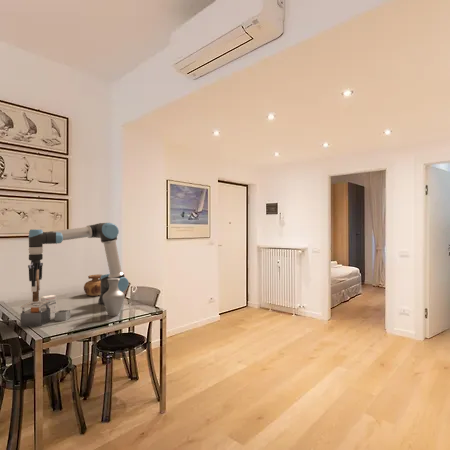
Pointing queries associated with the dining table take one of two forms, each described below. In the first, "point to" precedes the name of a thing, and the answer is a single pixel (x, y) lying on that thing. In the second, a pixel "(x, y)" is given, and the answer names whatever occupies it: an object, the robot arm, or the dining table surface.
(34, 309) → the breaker button
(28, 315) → the grey clear-topped case
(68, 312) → the pen cup
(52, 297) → the ink box
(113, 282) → the vase
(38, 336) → the dining table surface
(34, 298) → the stylus
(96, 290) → the clay pot
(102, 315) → the dining table surface
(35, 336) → the dining table surface
